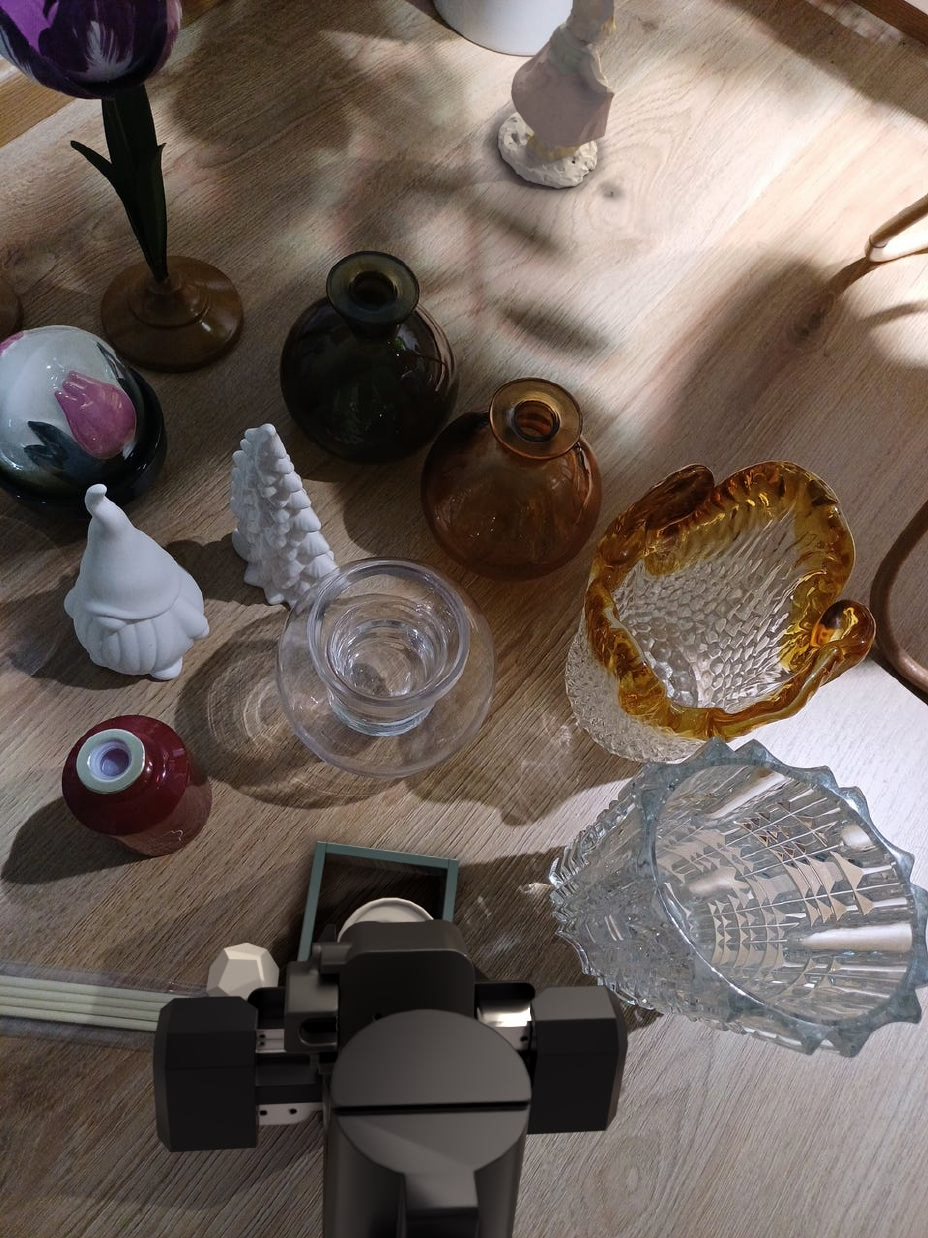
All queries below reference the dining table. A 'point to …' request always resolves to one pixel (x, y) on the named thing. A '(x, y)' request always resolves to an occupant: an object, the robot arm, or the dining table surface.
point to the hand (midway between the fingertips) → (384, 930)
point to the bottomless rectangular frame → (382, 861)
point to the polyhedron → (241, 971)
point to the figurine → (561, 101)
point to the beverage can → (387, 912)
